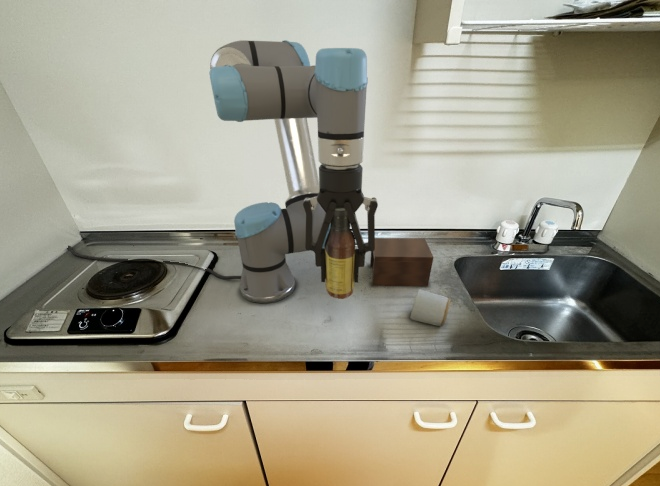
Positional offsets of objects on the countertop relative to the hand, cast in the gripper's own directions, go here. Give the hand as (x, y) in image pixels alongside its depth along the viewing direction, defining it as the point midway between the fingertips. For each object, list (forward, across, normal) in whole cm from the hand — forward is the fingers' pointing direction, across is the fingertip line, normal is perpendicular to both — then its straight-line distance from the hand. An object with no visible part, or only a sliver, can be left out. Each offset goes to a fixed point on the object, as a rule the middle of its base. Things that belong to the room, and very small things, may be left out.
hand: (339, 278), depth 67 cm
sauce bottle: (+4, 0, 0) cm, 4 cm away
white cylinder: (+15, +22, +6) cm, 27 cm away
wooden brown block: (+15, +17, +26) cm, 34 cm away
